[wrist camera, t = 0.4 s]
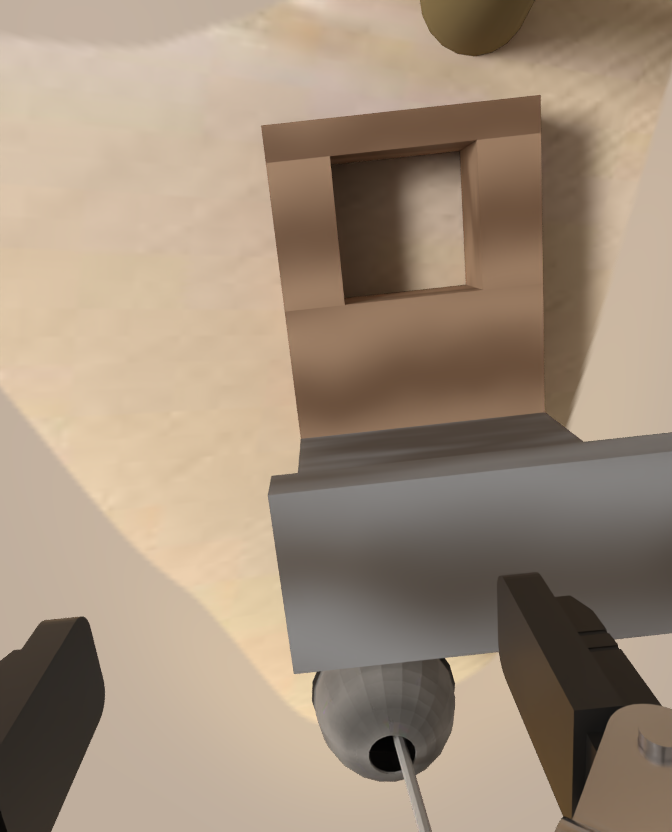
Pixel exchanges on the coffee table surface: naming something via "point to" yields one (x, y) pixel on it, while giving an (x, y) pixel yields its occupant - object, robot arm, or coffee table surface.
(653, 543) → the socket stand
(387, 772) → the beverage cup
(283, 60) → the coffee table surface
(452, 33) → the cork
